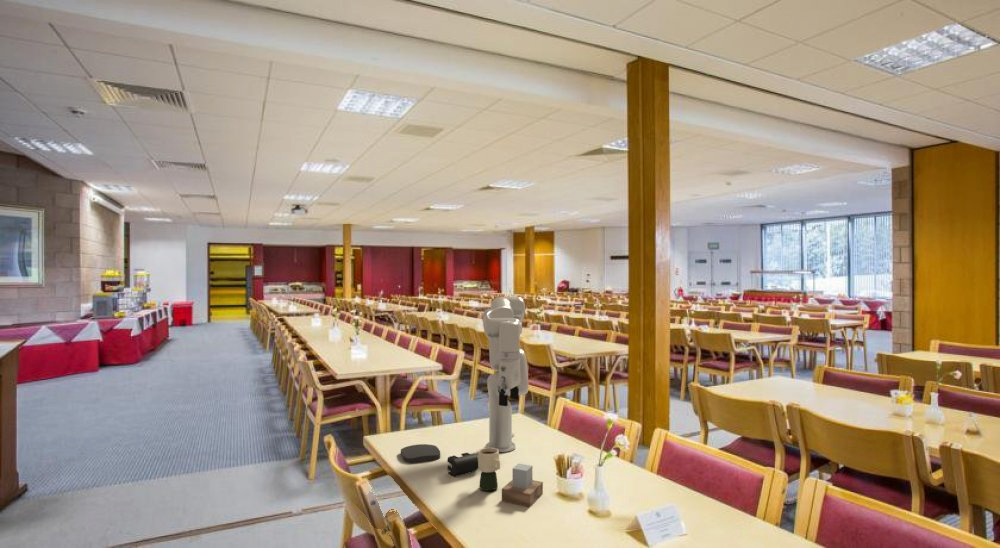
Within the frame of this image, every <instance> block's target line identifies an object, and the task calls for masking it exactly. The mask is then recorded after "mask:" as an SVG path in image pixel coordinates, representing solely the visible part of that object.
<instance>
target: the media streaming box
mask: <svg viewBox="0 0 1000 548" xmlns="http://www.w3.org/2000/svg"><path fill="white" fill-rule="evenodd" d="M400 457H401V458H402V460H403V462H405V463H408V464H419V463H427V462H433V461H437V460H439V459H441V450H440V449H439V447H438V446H436V445H434V444H426V443H425V444H424V443H423V444H422V443H421V444H419V443H417V444H412V445H408V446H407V445H406V446H405V447H402V448H401V449H400Z"/></svg>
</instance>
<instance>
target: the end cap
mask: <svg viewBox="0 0 1000 548" xmlns="http://www.w3.org/2000/svg"><path fill="white" fill-rule="evenodd" d="M446 462H447V463H449V464H450V465H451V466H450V465H449V464H448V465H447V470H448V472H447V474H448V475H449V476H451V477H452V478H456V477H459V476H463V475H466V474H471V473H474V472H476V471H477V470H479V468H478V454H476V453H469V452H464V453H463V452H462V453H461V456H457V455H451V456H448V457H447V461H446Z"/></svg>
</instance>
